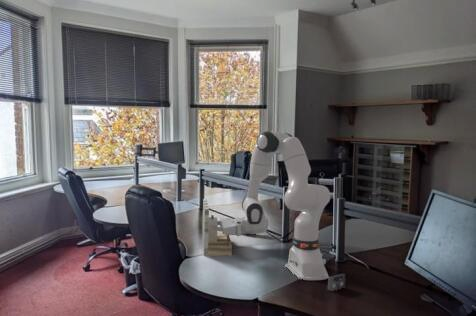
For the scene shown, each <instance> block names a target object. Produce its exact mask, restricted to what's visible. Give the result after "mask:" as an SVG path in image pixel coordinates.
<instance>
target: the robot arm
mask: <svg viewBox="0 0 476 316" xmlns="http://www.w3.org/2000/svg"><path fill="white" fill-rule="evenodd" d="M276 154H277V155H281V156H282V159H283V163H284V165H285V169H286V173H287V178H288V186H287V190H286V192H285V194H284V196H283V197H284V198H283V201H284V205H285V206H286V208H287V209H288V210H290V211H298V212H300V213H299V215H298V216H297V217H296V219H295V220H294V229H293V231H294V233H293V237H292V246H291V248H289V250H288V251H289V254H288V262H287V263H285V265H284V268H286V267H287V268H288V269H289V270H290V271H291V272H292V273H291V272H290V271H289V270H288V269H287V268H286V269H287V270H288V271H289V272H290V273H291V274H293V275H294V274H295V275H296V276H297V277H298V278H297V277H296V276H295V275H294V276H295V277H296V278H297V279H299V280H302V279H303V280H304V281H323V280H327V279H328V277H330V276H329V274H328V271H327V269H326V267H325V265H326V264H327V262H326V258H322V257H323V256H324V255H323V253H321V249H320V241H319V226H320V225H319V224H320V220H321V218H322V217H321V216H322V214H323V212H324V210H325V207H326V206H327V205H328V203H330V201H331V193H330V190H329V188H328V187H327V186H325V185H322V184H309V181H308V179H309V176H310V174H311V172H312V168H311V165H310V163H309V160H308V159H309V158H308V157H307V153H306V151H305V149H304V147H303V145H302V142H301V141H300V139H299V138H298V137H296V136H293V135H292V134H290V133H288V132H281V131H276V130H275V131H262V132H260V133H259V134H258V136H257V138H256V144H255V145H254V148H253V150H252V153H251V158H250V161H249V162H250V164H249V182H248V185H247V191H246V195H245V197H244V198H243V200H242V201H241V208H242V210H243V212H244V213H245V216H244V217H234V219H233V218H231V217H229V218H228V217H221V218H219V220H217V227H216V226H215V227H213V230H214V231H217V232H221V234H224V235H229V236H236V237H241V236H242V235H241V234H246V233H250V234H256V235H259V234H263V233H266V231H267V230H268V228H269V219H268V218H267V216H266V215H265V213H264V208H263V206H262V204H261V203H260V201H259V191H260V187H261V183H262V181H264V180H265V179H267V178H268V177H269V175H270V172H271V168H272V162H273V156H274V155H276ZM303 280H302V281H303Z"/></svg>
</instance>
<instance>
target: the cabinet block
mask: <svg viewBox="0 0 476 316" xmlns="http://www.w3.org/2000/svg"><path fill="white" fill-rule="evenodd" d="M217 221H218V217H217V216H216V217H215V216H214V215H213V214H211V216H209V229H208V242H217V234H218V231H214V230H213V227H215V226H216V227H218V225H217Z"/></svg>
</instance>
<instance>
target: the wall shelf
mask: <svg viewBox="0 0 476 316" xmlns="http://www.w3.org/2000/svg"><path fill="white" fill-rule="evenodd" d="M202 201H203V202H202V247H203V248H202V249H203V256H204V257H205V256H207V257H211V256H212V257H213V256H215V257H216V256H219V257H220V256H232V254H233V253H232V252H233V249H232V248H233V244H232V243H233V242H232V240H231V237H230V235H224V234H223V233H217V242H208V229H209V217H210V208H209V203H208V200H207V198H203V200H202Z"/></svg>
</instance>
